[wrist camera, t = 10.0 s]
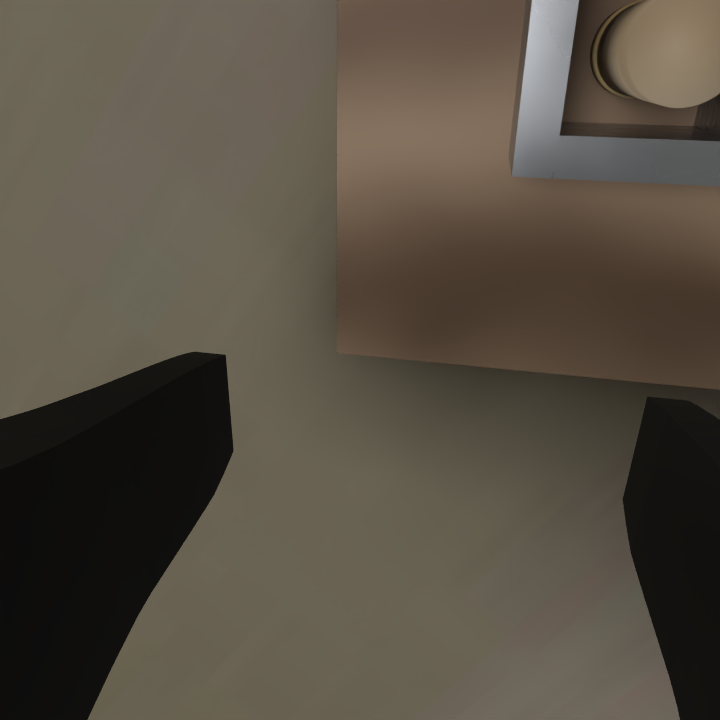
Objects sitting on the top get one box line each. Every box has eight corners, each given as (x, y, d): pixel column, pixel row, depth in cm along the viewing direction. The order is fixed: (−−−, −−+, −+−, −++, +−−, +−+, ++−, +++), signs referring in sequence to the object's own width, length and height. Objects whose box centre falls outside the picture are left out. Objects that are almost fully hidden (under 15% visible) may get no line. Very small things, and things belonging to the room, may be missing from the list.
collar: (722, 164, 16) (776, 189, 13) (508, 155, 17) (511, 176, 14) (786, -88, 14) (869, -131, 11) (535, -84, 15) (546, -122, 12)
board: (828, 386, 19) (956, 511, 14) (343, 340, 22) (293, 433, 16) (1159, -495, 12) (1734, -974, 6) (347, -413, 14) (257, -704, 9)
